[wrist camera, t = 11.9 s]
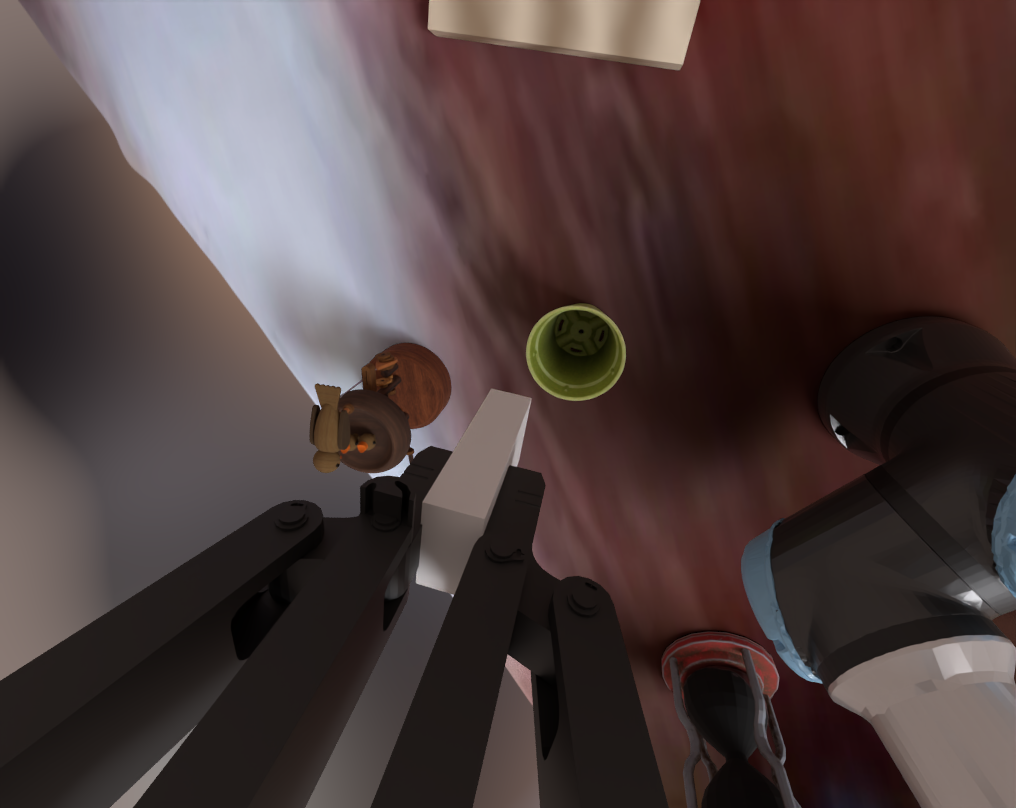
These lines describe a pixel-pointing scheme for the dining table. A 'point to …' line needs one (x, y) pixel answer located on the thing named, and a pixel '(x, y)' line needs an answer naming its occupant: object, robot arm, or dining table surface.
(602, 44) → the dial plate
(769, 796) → the hourglass
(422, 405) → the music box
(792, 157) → the dining table surface
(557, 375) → the plant pot
